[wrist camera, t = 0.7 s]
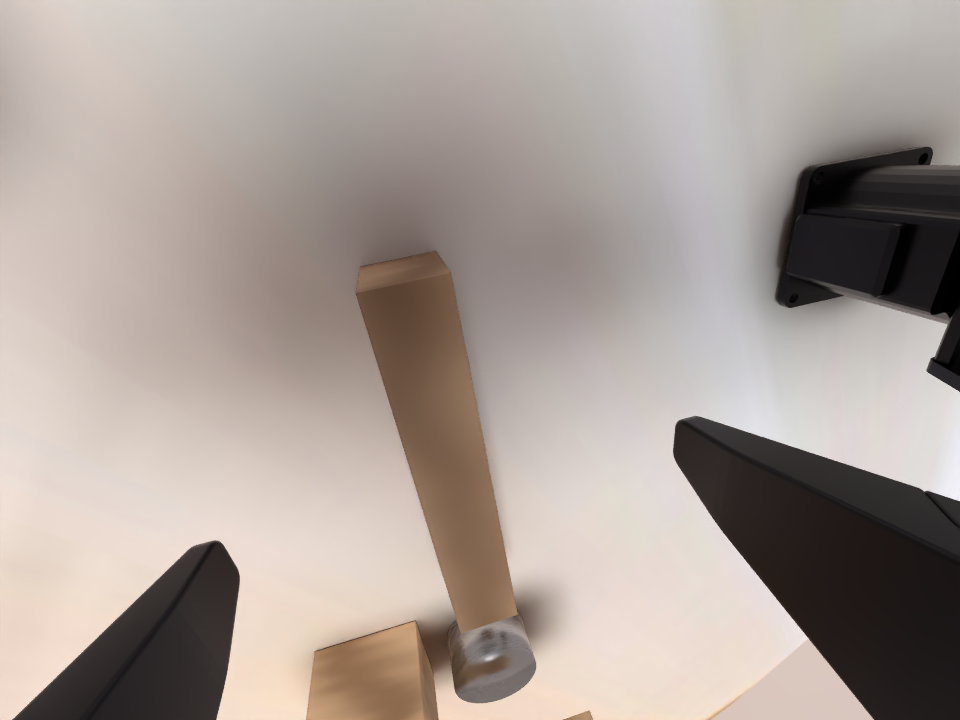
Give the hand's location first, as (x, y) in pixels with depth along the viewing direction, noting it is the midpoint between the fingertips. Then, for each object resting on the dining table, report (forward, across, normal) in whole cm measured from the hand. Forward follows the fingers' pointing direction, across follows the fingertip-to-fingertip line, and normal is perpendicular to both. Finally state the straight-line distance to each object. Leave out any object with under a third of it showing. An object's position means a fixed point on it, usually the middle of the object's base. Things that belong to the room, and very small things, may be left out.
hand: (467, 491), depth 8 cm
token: (+11, 0, +22) cm, 24 cm away
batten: (+11, 0, +6) cm, 13 cm away
